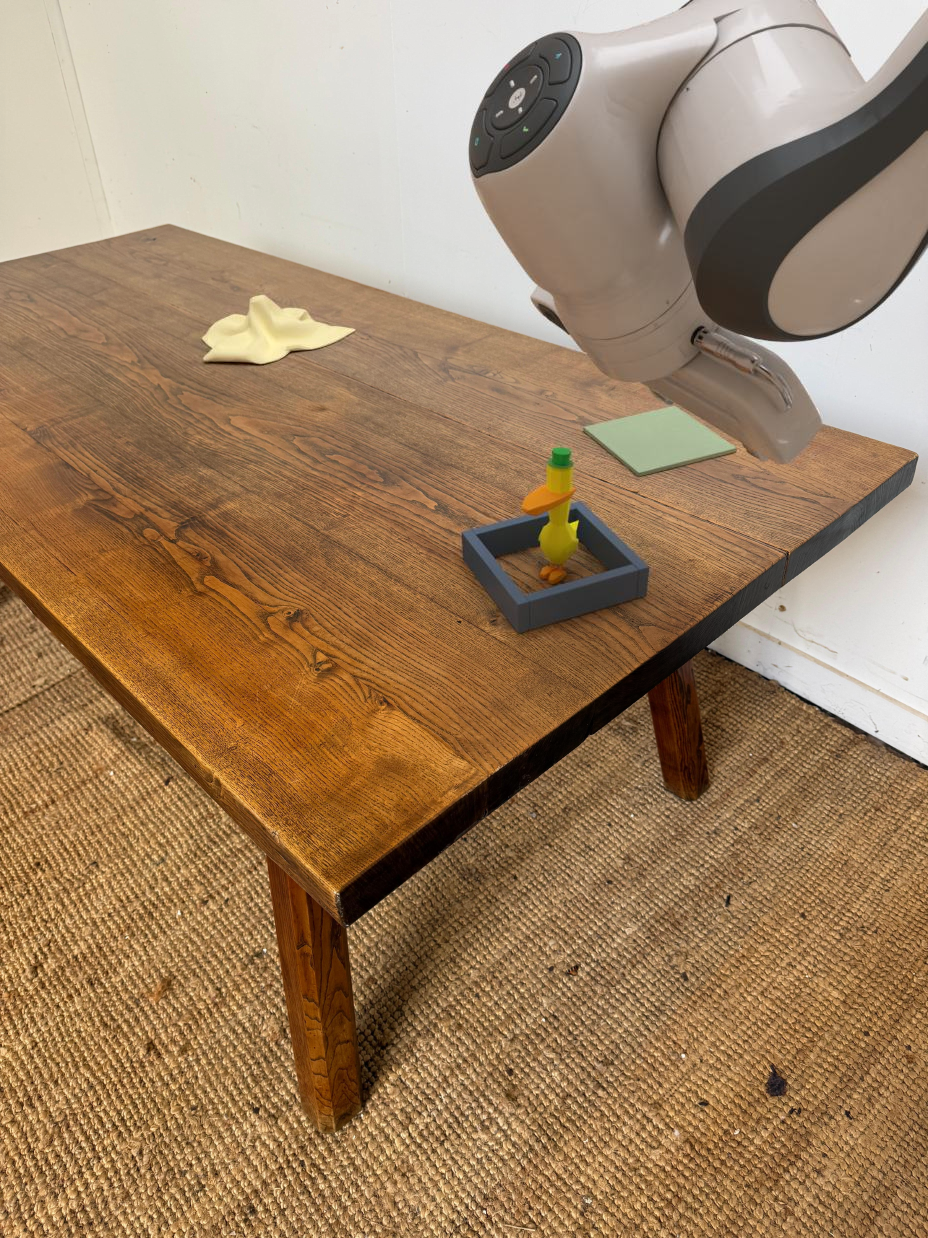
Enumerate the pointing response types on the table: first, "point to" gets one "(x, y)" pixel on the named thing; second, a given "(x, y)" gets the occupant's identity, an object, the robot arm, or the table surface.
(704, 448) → the felt mat
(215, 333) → the cloth
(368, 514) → the table surface
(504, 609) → the open square frame
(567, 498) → the toy figure
